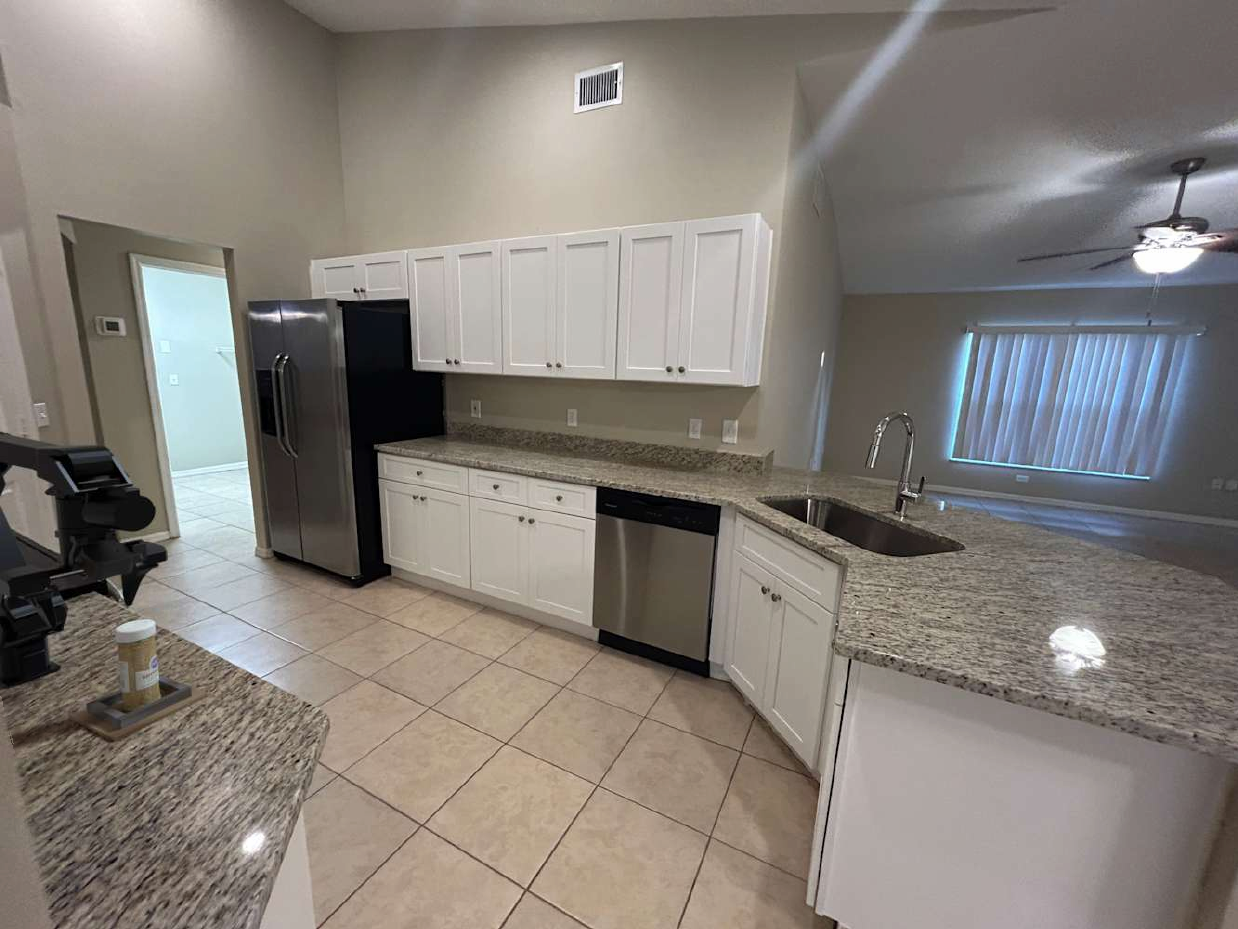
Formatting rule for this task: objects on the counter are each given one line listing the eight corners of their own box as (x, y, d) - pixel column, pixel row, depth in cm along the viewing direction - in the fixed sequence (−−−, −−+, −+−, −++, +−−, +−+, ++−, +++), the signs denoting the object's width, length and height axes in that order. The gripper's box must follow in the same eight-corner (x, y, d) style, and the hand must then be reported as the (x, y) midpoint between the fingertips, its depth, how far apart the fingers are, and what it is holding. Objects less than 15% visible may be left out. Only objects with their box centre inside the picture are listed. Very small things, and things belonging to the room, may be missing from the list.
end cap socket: (68, 718, 75) (67, 706, 75) (163, 678, 86) (163, 667, 86) (114, 741, 71) (113, 729, 71) (208, 696, 82) (207, 685, 82)
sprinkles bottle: (157, 707, 78) (151, 627, 76) (117, 716, 76) (110, 634, 74) (163, 692, 82) (158, 615, 80) (125, 700, 79) (118, 621, 77)
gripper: (24, 548, 67) (35, 654, 69) (184, 519, 85) (189, 605, 87) (-16, 535, 71) (-4, 636, 73) (145, 510, 88) (151, 592, 91)
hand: (92, 616), depth 81 cm, fingers open, 9 cm apart
